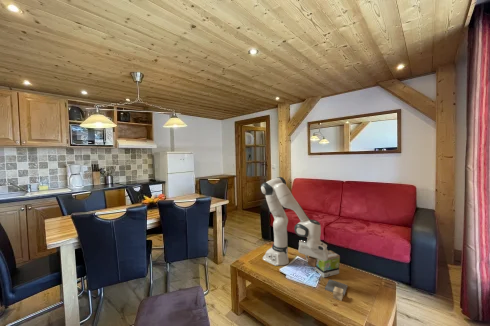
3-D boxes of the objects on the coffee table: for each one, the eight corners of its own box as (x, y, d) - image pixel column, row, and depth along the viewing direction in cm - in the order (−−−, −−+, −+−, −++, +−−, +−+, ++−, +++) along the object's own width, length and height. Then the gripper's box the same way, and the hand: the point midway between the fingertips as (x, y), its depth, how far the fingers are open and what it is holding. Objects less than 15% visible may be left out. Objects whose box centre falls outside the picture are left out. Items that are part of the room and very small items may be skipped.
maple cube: (333, 298, 135) (333, 290, 135) (334, 293, 139) (335, 286, 139) (341, 301, 132) (341, 293, 132) (343, 296, 136) (343, 289, 136)
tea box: (324, 278, 156) (324, 258, 155) (314, 271, 165) (315, 252, 165) (339, 274, 162) (340, 255, 161) (329, 267, 171) (330, 249, 170)
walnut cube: (307, 265, 149) (307, 258, 149) (309, 262, 153) (310, 255, 153) (314, 267, 146) (315, 260, 146) (316, 264, 151) (317, 257, 150)
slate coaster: (324, 289, 143) (324, 287, 143) (329, 280, 153) (329, 279, 153) (344, 296, 136) (344, 294, 136) (347, 286, 146) (347, 285, 146)
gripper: (297, 240, 152) (296, 259, 153) (327, 249, 141) (326, 269, 142) (300, 238, 157) (299, 256, 158) (329, 245, 146) (328, 265, 147)
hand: (312, 262), depth 150 cm, fingers closed on walnut cube, 5 cm apart
